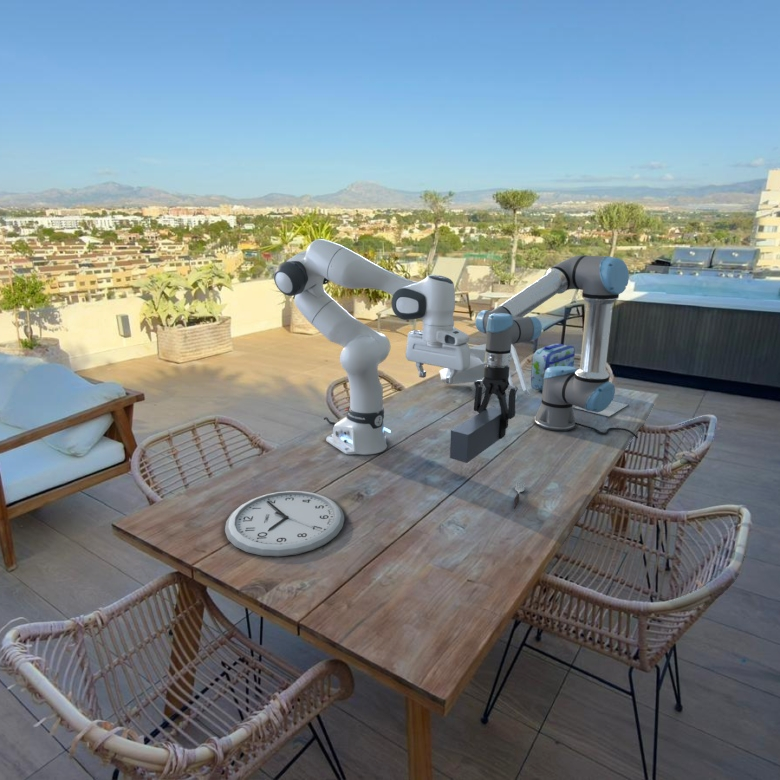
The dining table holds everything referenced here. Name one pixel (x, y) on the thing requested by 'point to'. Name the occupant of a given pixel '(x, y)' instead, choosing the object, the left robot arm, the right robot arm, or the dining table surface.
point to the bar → (475, 435)
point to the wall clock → (284, 523)
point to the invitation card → (608, 409)
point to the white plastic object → (482, 368)
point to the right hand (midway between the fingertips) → (492, 435)
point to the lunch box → (550, 361)
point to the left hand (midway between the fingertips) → (435, 380)
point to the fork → (518, 489)
